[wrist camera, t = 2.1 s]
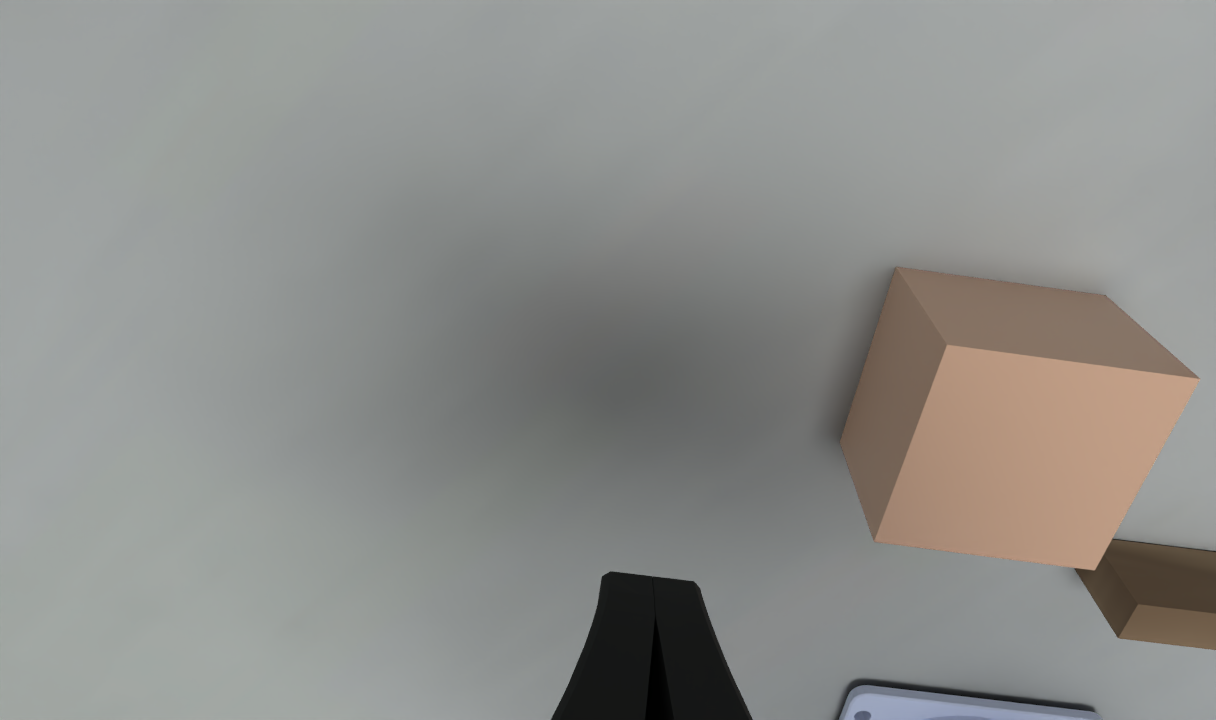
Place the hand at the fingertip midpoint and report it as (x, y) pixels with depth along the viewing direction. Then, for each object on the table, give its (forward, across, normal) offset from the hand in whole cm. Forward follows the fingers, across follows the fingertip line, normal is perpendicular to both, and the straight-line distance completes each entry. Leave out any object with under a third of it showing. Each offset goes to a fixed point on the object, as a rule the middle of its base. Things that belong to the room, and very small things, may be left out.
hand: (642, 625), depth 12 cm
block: (+10, -8, 0) cm, 12 cm away
